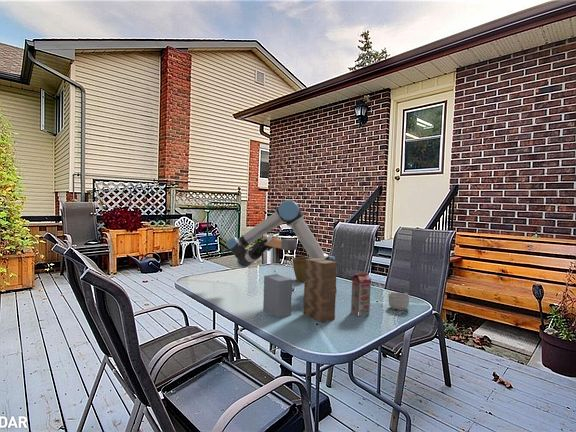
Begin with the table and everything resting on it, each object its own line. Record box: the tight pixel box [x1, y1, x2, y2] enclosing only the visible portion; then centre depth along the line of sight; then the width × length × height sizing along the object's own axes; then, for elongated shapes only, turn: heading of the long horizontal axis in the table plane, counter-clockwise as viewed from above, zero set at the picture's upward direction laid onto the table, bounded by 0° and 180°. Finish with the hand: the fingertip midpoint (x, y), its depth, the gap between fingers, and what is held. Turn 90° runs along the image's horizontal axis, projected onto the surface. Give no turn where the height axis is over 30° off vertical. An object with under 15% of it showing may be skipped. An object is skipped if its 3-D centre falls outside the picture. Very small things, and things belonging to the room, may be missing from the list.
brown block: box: [261, 236, 298, 251], centre depth 173 cm, size 24×6×5 cm, turn 37°
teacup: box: [387, 291, 410, 311], centre depth 181 cm, size 14×11×8 cm
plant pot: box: [292, 256, 311, 283], centre depth 238 cm, size 15×15×16 cm
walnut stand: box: [302, 258, 338, 324], centre depth 163 cm, size 14×8×28 cm, turn 38°
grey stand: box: [262, 274, 293, 319], centre depth 167 cm, size 13×8×18 cm, turn 38°
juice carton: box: [350, 270, 372, 317], centre depth 169 cm, size 7×7×22 cm
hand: (274, 237), depth 176 cm, fingers closed on brown block, 4 cm apart
